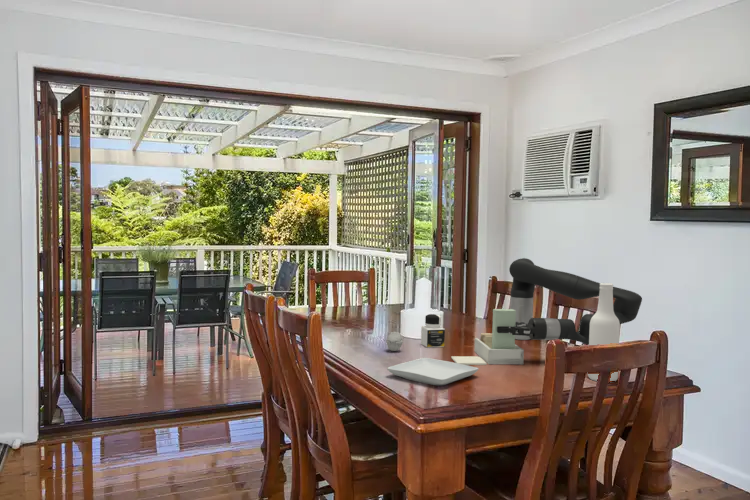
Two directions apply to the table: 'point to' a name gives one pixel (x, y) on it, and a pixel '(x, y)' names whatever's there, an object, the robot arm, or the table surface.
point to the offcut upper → (486, 337)
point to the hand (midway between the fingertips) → (495, 328)
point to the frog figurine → (394, 341)
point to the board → (503, 319)
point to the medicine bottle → (432, 332)
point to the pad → (469, 360)
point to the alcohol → (604, 323)
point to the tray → (499, 354)
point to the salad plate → (432, 371)
